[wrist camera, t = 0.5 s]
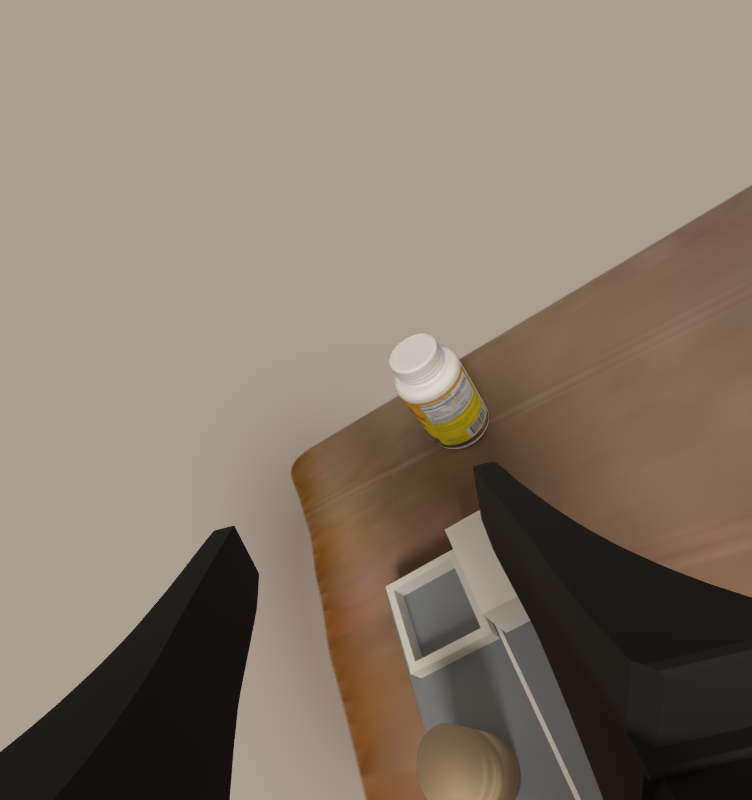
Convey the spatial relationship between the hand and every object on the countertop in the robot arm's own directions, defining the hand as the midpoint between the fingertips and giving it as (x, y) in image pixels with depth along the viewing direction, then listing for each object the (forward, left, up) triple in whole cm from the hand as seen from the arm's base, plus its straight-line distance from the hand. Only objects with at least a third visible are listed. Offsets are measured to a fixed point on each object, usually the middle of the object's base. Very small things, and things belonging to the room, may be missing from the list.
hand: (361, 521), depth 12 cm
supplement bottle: (+18, -4, -20) cm, 27 cm away
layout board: (0, +1, -20) cm, 20 cm away
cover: (+4, -2, -19) cm, 19 cm away
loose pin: (-4, +4, -19) cm, 20 cm away
